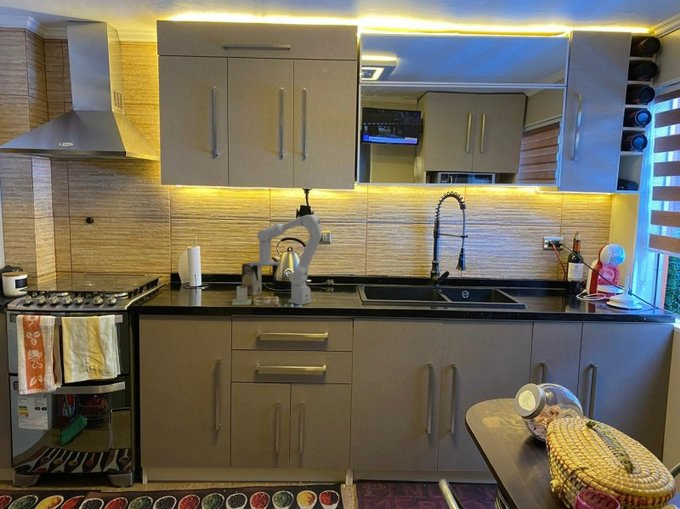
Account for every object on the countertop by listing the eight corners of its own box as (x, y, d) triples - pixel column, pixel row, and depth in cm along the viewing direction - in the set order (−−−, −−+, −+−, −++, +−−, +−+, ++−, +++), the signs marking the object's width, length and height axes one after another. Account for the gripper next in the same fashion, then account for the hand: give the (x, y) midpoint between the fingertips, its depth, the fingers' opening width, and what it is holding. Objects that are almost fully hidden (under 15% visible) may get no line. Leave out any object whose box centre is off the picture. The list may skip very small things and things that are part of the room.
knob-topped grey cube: (247, 300, 232) (247, 285, 231) (247, 302, 227) (247, 287, 227) (237, 300, 231) (236, 285, 231) (236, 302, 226) (236, 287, 226)
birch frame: (277, 300, 236) (277, 296, 236) (278, 304, 227) (278, 300, 226) (253, 301, 234) (253, 296, 234) (253, 305, 225) (253, 301, 224)
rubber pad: (251, 300, 235) (251, 299, 235) (251, 304, 226) (251, 303, 226) (233, 301, 233) (233, 299, 233) (232, 305, 224) (232, 303, 224)
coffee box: (241, 293, 253) (241, 263, 251) (249, 291, 258) (249, 262, 256) (253, 295, 247) (253, 265, 246) (262, 293, 253) (262, 264, 251)
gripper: (250, 254, 230) (250, 281, 231) (280, 254, 233) (280, 281, 234) (250, 252, 237) (250, 279, 238) (279, 252, 239) (279, 279, 241)
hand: (265, 280), depth 237 cm, fingers open, 7 cm apart
